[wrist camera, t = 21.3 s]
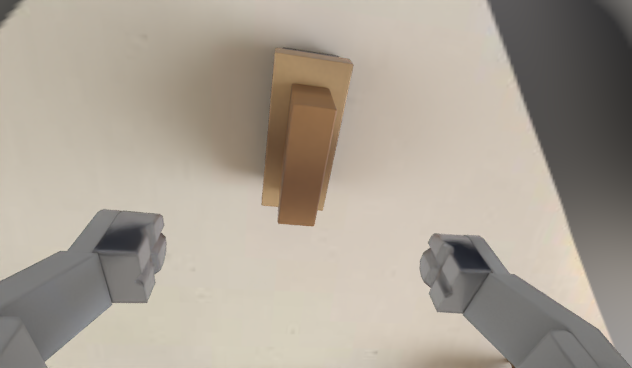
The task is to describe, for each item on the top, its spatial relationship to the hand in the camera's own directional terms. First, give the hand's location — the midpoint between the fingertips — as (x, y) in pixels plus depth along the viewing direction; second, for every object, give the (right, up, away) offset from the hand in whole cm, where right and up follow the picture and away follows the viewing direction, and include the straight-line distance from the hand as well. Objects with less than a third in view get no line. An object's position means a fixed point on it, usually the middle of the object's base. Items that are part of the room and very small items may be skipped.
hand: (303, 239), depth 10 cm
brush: (-1, +5, +9) cm, 10 cm away
